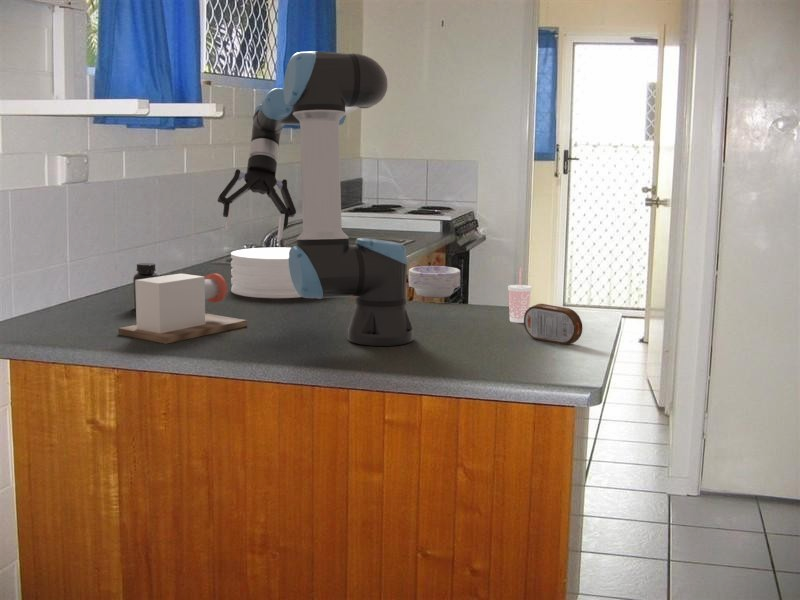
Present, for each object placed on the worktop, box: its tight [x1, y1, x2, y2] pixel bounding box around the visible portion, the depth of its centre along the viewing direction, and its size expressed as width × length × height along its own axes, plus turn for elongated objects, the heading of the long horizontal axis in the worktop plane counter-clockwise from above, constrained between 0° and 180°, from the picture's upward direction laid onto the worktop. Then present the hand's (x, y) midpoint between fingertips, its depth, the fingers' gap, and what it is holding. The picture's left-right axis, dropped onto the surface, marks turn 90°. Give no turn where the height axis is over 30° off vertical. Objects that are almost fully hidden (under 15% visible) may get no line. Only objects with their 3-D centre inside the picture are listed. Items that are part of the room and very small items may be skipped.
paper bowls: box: [408, 265, 461, 299], centre depth 291 cm, size 15×15×8 cm
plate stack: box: [230, 247, 303, 299], centre depth 296 cm, size 28×28×12 cm
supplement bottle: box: [132, 262, 160, 310], centre depth 263 cm, size 7×7×12 cm
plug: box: [204, 273, 228, 304], centre depth 238 cm, size 14×7×7 cm, turn 145°
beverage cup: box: [507, 266, 533, 324], centre depth 254 cm, size 6×6×14 cm
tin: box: [523, 303, 583, 345], centre depth 230 cm, size 15×3×8 cm, turn 47°
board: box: [117, 312, 248, 345], centre depth 236 cm, size 26×16×2 cm, turn 145°
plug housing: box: [135, 273, 206, 333], centre depth 232 cm, size 14×8×12 cm, turn 145°
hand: (253, 233), depth 253 cm, fingers open, 13 cm apart
